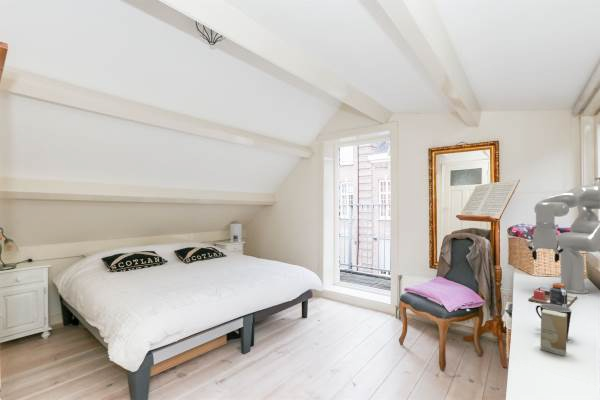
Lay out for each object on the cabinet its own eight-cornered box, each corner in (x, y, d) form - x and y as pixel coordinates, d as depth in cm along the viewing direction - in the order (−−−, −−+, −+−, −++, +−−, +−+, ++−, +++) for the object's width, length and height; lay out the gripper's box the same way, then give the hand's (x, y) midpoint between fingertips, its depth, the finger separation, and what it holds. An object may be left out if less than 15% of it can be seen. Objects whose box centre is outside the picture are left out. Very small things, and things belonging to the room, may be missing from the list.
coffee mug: (576, 343, 105) (576, 313, 105) (545, 339, 107) (545, 310, 108) (561, 330, 115) (561, 303, 116) (533, 326, 118) (533, 300, 119)
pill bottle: (570, 312, 135) (570, 285, 135) (555, 311, 136) (554, 285, 136) (562, 307, 141) (561, 282, 141) (547, 306, 142) (546, 281, 142)
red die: (535, 297, 154) (535, 288, 154) (545, 298, 151) (544, 290, 151) (533, 298, 151) (533, 290, 151) (543, 300, 148) (543, 291, 149)
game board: (541, 292, 166) (540, 286, 166) (577, 298, 155) (577, 292, 155) (528, 301, 150) (528, 294, 150) (567, 308, 139) (567, 302, 139)
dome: (541, 291, 163) (541, 283, 163) (552, 293, 159) (552, 285, 159) (538, 293, 160) (538, 284, 160) (550, 295, 156) (550, 286, 156)
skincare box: (540, 349, 100) (539, 311, 100) (542, 345, 103) (541, 308, 103) (566, 356, 95) (566, 316, 95) (567, 352, 98) (567, 313, 98)
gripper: (568, 227, 156) (569, 262, 156) (526, 225, 169) (527, 257, 169) (565, 227, 151) (566, 263, 151) (522, 225, 164) (523, 259, 164)
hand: (545, 260), depth 160 cm, fingers open, 8 cm apart
